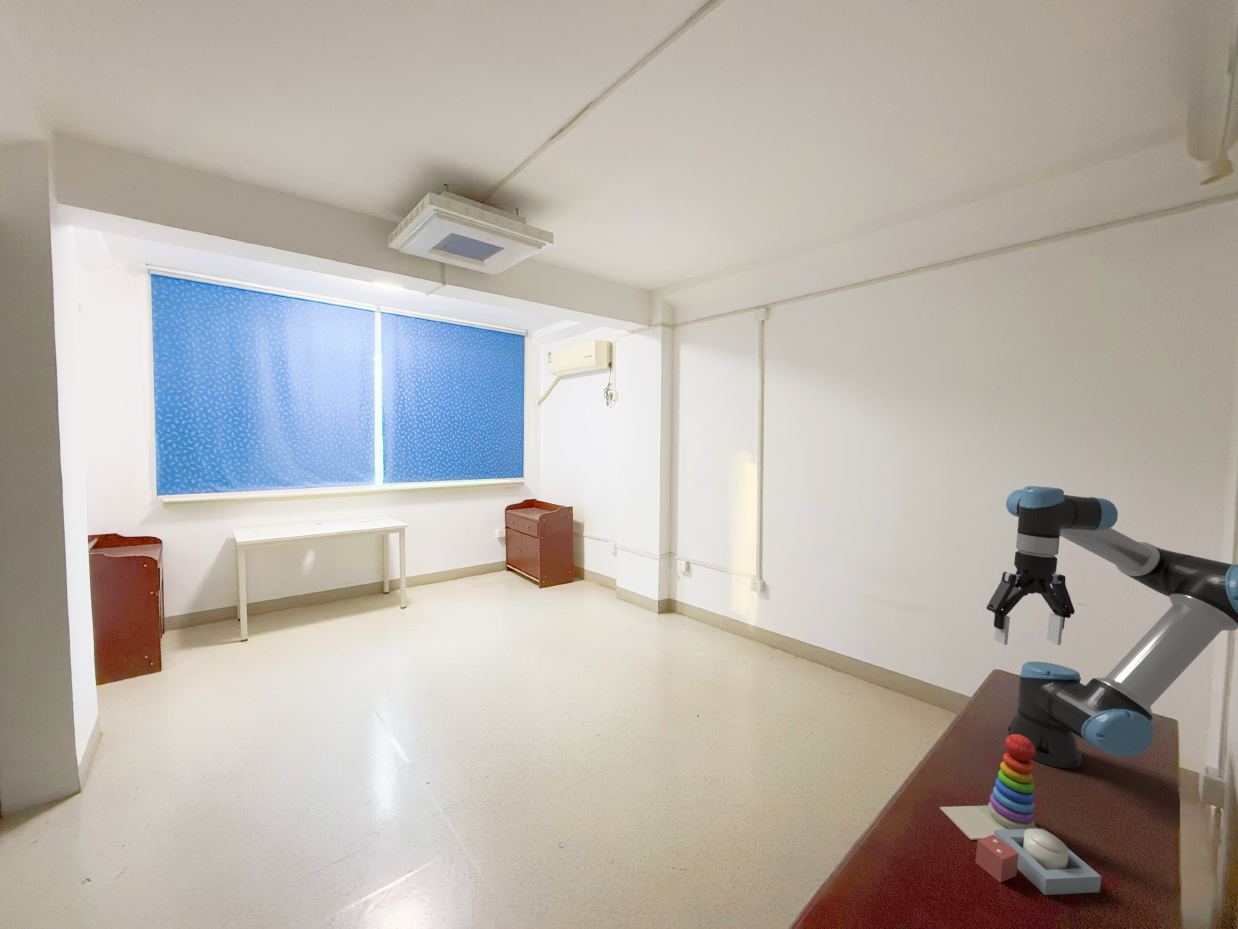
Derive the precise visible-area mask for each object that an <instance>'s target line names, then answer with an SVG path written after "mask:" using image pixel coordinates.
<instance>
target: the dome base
mask: <svg viewBox="0 0 1238 929" xmlns="http://www.w3.org/2000/svg"><path fill="white" fill-rule="evenodd" d="M1037 828H1038V829H1040V830H1044V831H1046V832H1049V831H1048V830H1047V829H1045V828H1043V827H1042V828H1041V827H1040V828H1039V827H1037ZM1025 830H1026V829H1012V830H994V836H996V837H997V838H999V839H1000V840H1001V841H1003V842H1004V843H1005V844H1007V845H1008V846H1009V847H1011V848H1012V849H1014V850H1015V851H1016V852H1018V853H1019V855H1018V865H1017V870H1018V871H1020V873H1022V875H1023V876H1024V877H1026V878H1027V879H1028V880H1029V881H1030V883H1031V884H1033V886H1035V888H1037V889H1038V890H1039V891H1040V892H1041V893H1042V894H1043V895H1044V896H1050V895H1052V896H1053V895H1054V896H1055V895H1069V894H1073V895H1074V894H1087V893H1091V894H1092V893H1100V892H1101V884H1102V883H1101V882H1102V876H1101V875H1100V874H1099V873H1098V872H1097V871H1095V870H1094V869H1093V868H1092V867H1091V866H1090V865H1088V864H1087V863H1086V862H1085V861H1083V860H1082V859H1081V858H1080V857H1079V856H1077V854H1075V853H1074V852H1073V851H1072V850H1071V849H1069V848H1068V851H1069V853H1068V863H1067V869H1056V870H1045V869H1044V868H1043V867H1042V866H1041V865H1040V864H1039V863H1038V862H1037V861H1036V860H1035V859H1033V858H1032V857H1031V856H1030V855H1029V854H1028V853H1027V852H1026V851H1025V850H1024V849H1023V843H1024V833H1025Z"/></svg>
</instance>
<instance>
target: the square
mask: <svg viewBox="0 0 1238 929" xmlns="http://www.w3.org/2000/svg"><path fill="white" fill-rule="evenodd" d="M976 806H977V805H963V806H961V805H959V806H958V805H957V806H956V805H955V806H940V807H939V809H940V810H941V811H942V812H943V813H944V814H945V815H946V816H947V817H948V818H949V819H950V821H951V822H953V823H954V824H955V825H956V826H957V828H959V830H960V831H961V832H963V833H964V835H965V836H966V837H968V839H969V840H970V841H972V840H973V841H975V840H977V841H978V840H980V839H983V838H985V837H988V836H991V835H994V830H1001V829H1000V828H999V827H998V826H997V825H996V824H995V823H994V822H992V821H991V820H990V819H989V818H988V817H987V816H986V815H985V814H984V813H983V812H982V811H981V810H979V809H978V808H977V807H976Z"/></svg>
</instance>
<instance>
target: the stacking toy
mask: <svg viewBox="0 0 1238 929" xmlns="http://www.w3.org/2000/svg"><path fill="white" fill-rule="evenodd" d="M1004 746H1005V748H1006V749H1005V750H1006V751H1007V752H1006V753H1004V754H1003V757H1002V759H1003V761H1001V763H1000V765H999V768H1000V769H999V771H998V775H997V776H998V777H997V778H996V780H995V784H994V785H995V786H994V787H993V789H992V793H991V794H990V796H989V802H988V804H987V805H988V810H989V813H990V814H991V816H992V817H993V818H994V819H995V820H996V821H998V822H999V823H1000V824H1002V825H1004V826H1005V827H1007V828H1009V829H1030V828H1033V829H1035V826H1036V823H1035V820H1034V819H1035V812H1034V811H1035V807H1036V806H1035V802H1034V799H1035V795H1034V792H1033V791H1034V789H1035V784H1034V782H1033V780H1034V776H1033V773H1032V772H1033V771H1034V764H1033V763H1032V760H1033V758H1034V757H1035V754H1036V750H1035V747H1034V745H1033V743H1032V742H1031V741H1030V740H1029V739H1028V738H1026V737H1024V736H1022V735H1018V734H1013V735H1010V736H1008V737H1007V738H1006V737H1005V741H1004Z"/></svg>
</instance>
